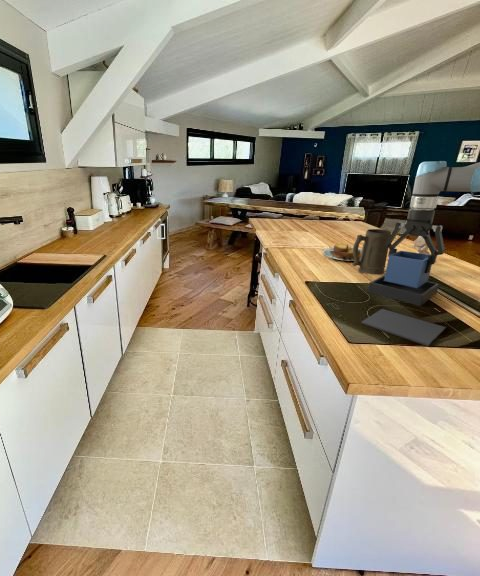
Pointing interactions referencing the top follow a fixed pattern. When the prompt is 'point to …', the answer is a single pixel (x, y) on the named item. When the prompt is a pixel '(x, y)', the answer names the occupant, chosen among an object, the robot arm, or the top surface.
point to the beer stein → (372, 251)
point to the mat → (405, 326)
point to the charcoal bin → (403, 291)
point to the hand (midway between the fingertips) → (408, 269)
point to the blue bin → (407, 269)
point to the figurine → (421, 245)
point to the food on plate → (342, 252)
